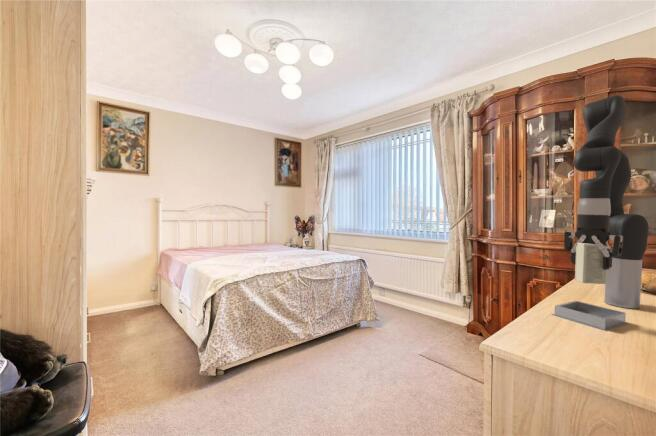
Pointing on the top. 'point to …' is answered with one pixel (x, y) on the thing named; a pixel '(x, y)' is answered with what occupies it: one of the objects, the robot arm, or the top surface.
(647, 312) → the top surface
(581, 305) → the shallow grey tray
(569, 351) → the top surface
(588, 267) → the skincare box
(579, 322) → the slate base plate
